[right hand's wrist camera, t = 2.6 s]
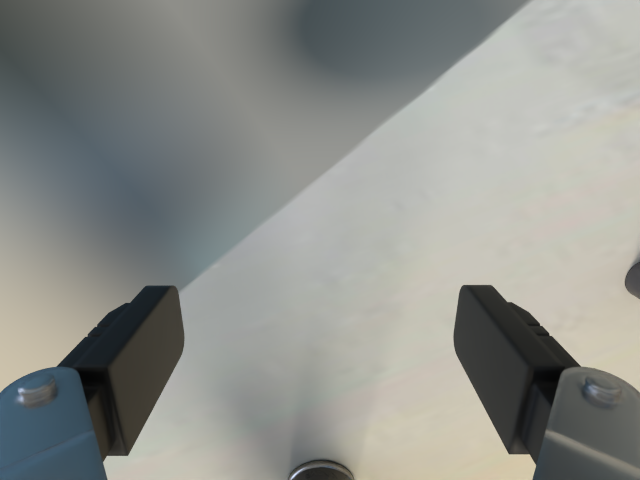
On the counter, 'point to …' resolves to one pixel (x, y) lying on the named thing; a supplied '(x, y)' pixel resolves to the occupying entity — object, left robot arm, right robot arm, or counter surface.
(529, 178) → the counter surface
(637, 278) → the grey cylinder
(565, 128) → the counter surface
